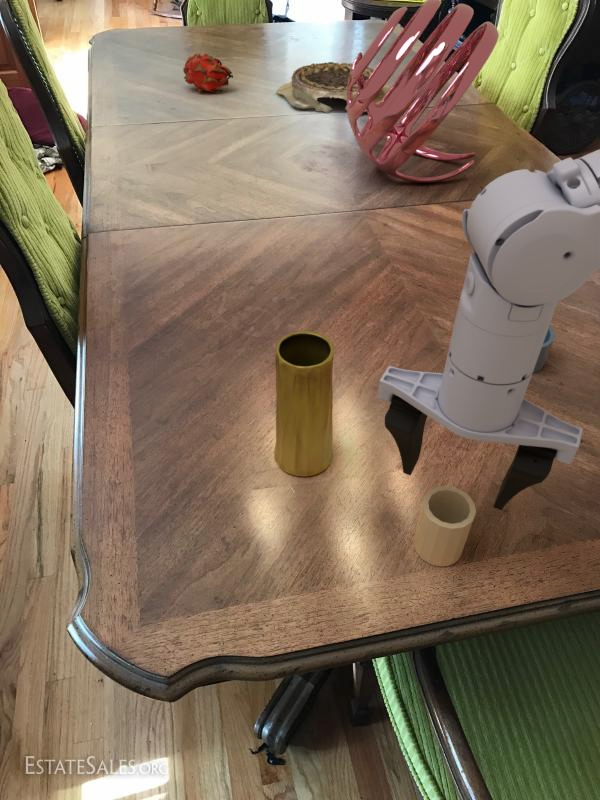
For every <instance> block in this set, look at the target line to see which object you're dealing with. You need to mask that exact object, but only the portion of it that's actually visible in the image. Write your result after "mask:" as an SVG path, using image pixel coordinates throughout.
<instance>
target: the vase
mask: <svg viewBox="0 0 600 800" xmlns="http://www.w3.org/2000/svg"><path fill="white" fill-rule="evenodd" d="M334 355H335V345H334V344H333V342H332V341H331V339H329V337H327V336H325V335H324V334H321V333H319V332H316V331H311V330H309V331H308V330H298V331H293V332H290V333H288V334H286V335H284V336H283V337H281V338H280V339H279V340H278V342H277V344H276V349H275V389H276V391H275V392H276V393H275V394H276V396H275V399H276V401H275V444H274V445H275V446H274V451H273V457H274V460H275V463H276V464H277V466H278V467H279V468H280V469H281V470H282V471H284V472H286V473H287V474H289V475H292V476H295V477H311V476H316V475H318V474H321V473H323V472H324V471H325V470H326V469H327V468H328V467H329V466H330V464H331V463H332V460H333V455H334V451H333V436H334V435H333V430H334V429H333V428H334V427H333V426H334V425H333V423H334V422H333V409H334V407H333V406H334V405H333V401H334V400H333V398H334V395H333V368H334Z"/></svg>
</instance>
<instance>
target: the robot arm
mask: <svg viewBox="0 0 600 800" xmlns="http://www.w3.org/2000/svg"><path fill="white" fill-rule="evenodd" d="M461 214H462V215H461V226H462V231H463V234H464V237H465V239H466V241H467V243H468V244H469V246H471V248H472V253H471V254H470V256H469V261H468V265H467V269H466V273H465V277H464V283H463V286H462V289H461V293H460V297H459V301H458V305H457V310H456V315H455V318H454V323H453V327H452V331H451V336H450V341H449V346H448V350H447V355H446V359H445V364H444V368H443V373H442V372H431V371H422V370H421V371H420V370H419V371H418V370H410V369H405V368H399V367H396V366H392V365H388V366H387V368H386V369H385V370H384V372H383V374H382V376H381V378H380V379H379V383H378V391H377V399H378V400H380V401H384V402H386V403H387V402H388V403H390V404H389V408H388V410H387V411H386V413H385V415H384V427H385V429H386V430H387V431H388V432H389V433H390V435H391V436H392V438H393V440H394V442H395V445H396V447H397V449H398V452H399V456H400V459H401V465H402V472H403V474H405V475H408V476H411V475H412V473H413V471H414V469H415V467H416V466H417V464H418V461H419V458H420V455H421V453H422V452H421V451H422V447H423V439H424V432H425V426H426V423H427V419H428V417H429V418H430V419H432V420H433V421H435V422H436V423H438V424H439V425H441V426H442V427H443V428H445V429H447V431H449V432H451V433H453V434H454V435H456V436H458V437H461V438H463V439H467V440H471V441H474V442H475V441H476V442H484V443H493V444H494V443H495V444H504V445H505V444H506V445H514V446H515V445H516V446H517V445H518V446H517V450H516V452H515V455H514V457H513V460H512V462H511V463H510V466H509V467H508V469H507V471H506V473H505V475H504V477H503V480H502V481H501V485H500V487H499V490H498V493H497V496H496V499H495V502H494V504H493V508H494V509H496V510H499V511H502V510H504V508H505V507H506V505H507V504H508V503H509V502H510V501H511V500H512V499H513V498H514V497H515V496H517V495H518V494H519V493H520V492H522V491H523V490H525V489H527V488H529V487H532V486H534V485H539V484H541V483H543V482H544V481H545V480H546V479H547V478H548V476H550V475H549V474H550V473H551V470H552V467H553V463H554V460H556V461H558V462H561V463H563V464H566V465H569V466H570V465H571V464H572V462H573V460H574V458H575V456H576V454H577V452H578V450H579V447H580V445H581V440H582V437H583V432H584V428H582V427H580V426H578V425H575V424H571V423H570V422H567V421H565V420H563V419H561V418H560V417H557V416H555V415H554V414H552V413H551V412H548V411H547V410H545V409H544V408H542V407H540V406H538V405H536V404H535V403H533V402H531V401H530V400H528V399H527V398H525V395H526V393H527V390H528V387H529V384H530V382H531V379H532V376H533V374H534V373H533V371H534V368H535V365H536V362H537V359H538V356H539V354H540V351H541V348H542V345H543V343H544V340H545V337H546V334H547V332H548V329H549V326H551V323H552V320H553V318H554V315H555V312H556V310H557V306H558V303H559V301H562V300H565V299H566V298H568V297H569V296H571V295H572V294H574V293H575V292H576V291H578V290H579V289H580V288H581V287H582V286H584V284H585V283H586V282H587V281H588V280H589V278H591V276H592V275H593V274H594V273H595V272H597V271H598V270H600V148H599V149H597V150H594V151H592V152H590V153H587V154H585V155H582V156H580V157H578V158H575V159H573V158H572V157H567V158H564V159H562V160H560V161H557V162H555V163H554V164H553V165H552V169H550V170H549V171H547V172H545V171H542V170H539V169H534V170H533V171H530V170H529V169H528V168H523V169H518V170H517V169H516V170H512V171H510V172H507V173H505V174H502V175H500V176H498V177H496V178H495V179H493V180H492V181H491V182H489V183H488V184H487V185H486V186H484V188H483V189H482V191H481V192H479V193H478V194H477V195H476V197H475V199H473V202H472V203H471V206H470V208H465V209H463V211H462V213H461Z"/></svg>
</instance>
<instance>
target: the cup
mask: <svg viewBox="0 0 600 800" xmlns="http://www.w3.org/2000/svg"><path fill="white" fill-rule="evenodd" d="M476 514H477V510H476V504H475V502H474V500H473V499H472V498H471V497H470V495H469V494H468V493H467V492H465V491H463V490H462V489H460V488H458V487H455V486H451V485H446V484H445V485H439V486H434V487H433V488H431V489H430V490H428V491H427V492H425V495H424V496H423V498H422V502H421V506H420V511H419V515H418V519H417V523H416V527H415V531H414V536H413V547H414V551H415V552H416V554H417V555H418V557H420V559H422V560H423V561H424V562H425V563H427V564H429V565H432V566H435V567H441V568H442V567H448V566H451V565H454V564H456V563H457V562H458V561H459V560H460V558H461V556H462V555H463V551H464V549H465V546H466V544H467V541H468V538H469V534H470V532H471V529H472V526H473V523H474V520H475V517H476Z"/></svg>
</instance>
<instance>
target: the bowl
mask: <svg viewBox="0 0 600 800" xmlns="http://www.w3.org/2000/svg"><path fill="white" fill-rule="evenodd" d="M555 338H556V336H555V331H554V329H553V328H552V326H551V325H550V326H549V329H548V332H547V334H546V337H545V340H544V343H543V345H542V348H541V351H540V354H539V356H538V359H537V362H536V365H535V368H534V371H533V374H535V373H537V372H539V371H541V370H542V369H543V368H544V366H545V364H546V362H547V359H548V356H549V354H550V351H551V348H552V346H553V343H554V340H555Z"/></svg>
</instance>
